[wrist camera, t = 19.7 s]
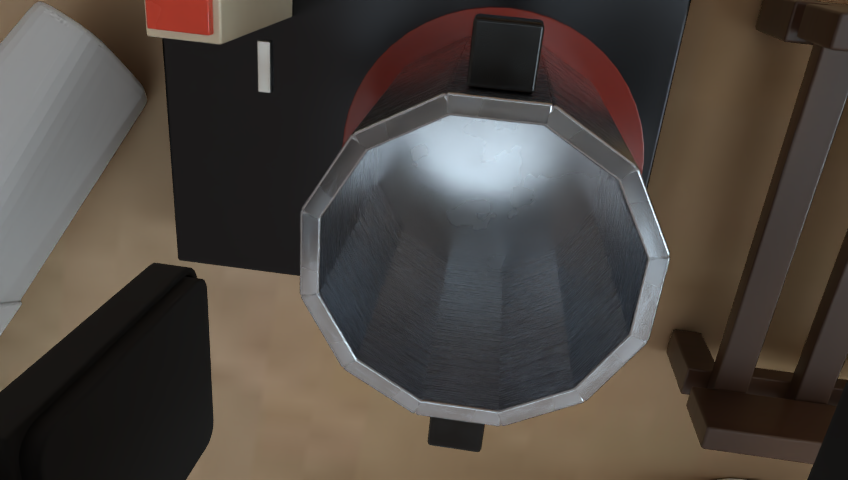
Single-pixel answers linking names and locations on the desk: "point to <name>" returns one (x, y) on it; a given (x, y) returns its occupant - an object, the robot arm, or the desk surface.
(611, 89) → the hot plate
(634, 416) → the desk surface
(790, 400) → the drying rack
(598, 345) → the steel pot
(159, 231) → the desk surface
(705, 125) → the desk surface
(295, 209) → the hob
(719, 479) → the base with upright slab
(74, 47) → the handheld device
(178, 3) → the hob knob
